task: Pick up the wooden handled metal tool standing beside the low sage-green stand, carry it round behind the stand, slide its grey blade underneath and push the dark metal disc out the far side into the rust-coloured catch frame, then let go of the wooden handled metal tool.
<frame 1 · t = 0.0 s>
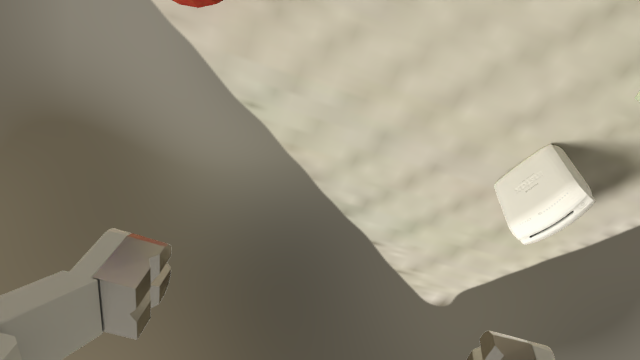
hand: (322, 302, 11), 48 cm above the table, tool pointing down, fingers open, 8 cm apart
photo printer: (528, 170, 61), on the table
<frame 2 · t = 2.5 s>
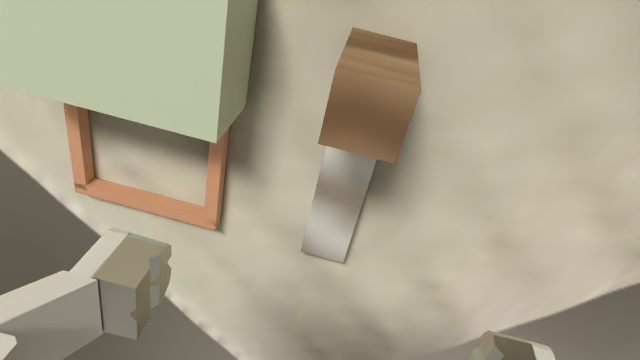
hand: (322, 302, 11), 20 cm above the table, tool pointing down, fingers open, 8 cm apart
catch frame: (151, 152, 34), on the table
stand: (149, 8, 28), on the table
wooden handled metal tool: (375, 66, 28), on the table
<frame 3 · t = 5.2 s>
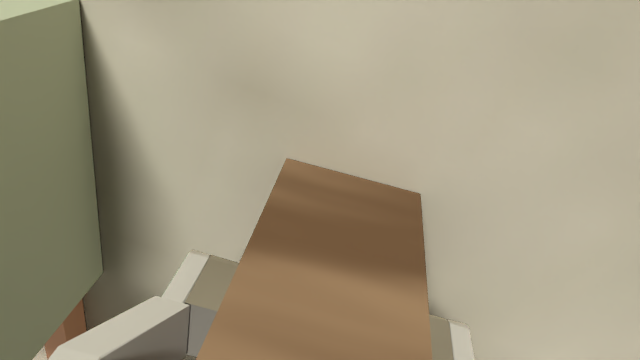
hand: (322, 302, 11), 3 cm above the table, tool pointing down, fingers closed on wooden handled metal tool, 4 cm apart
wooden handled metal tool: (337, 228, 14), on the table, touching gripper
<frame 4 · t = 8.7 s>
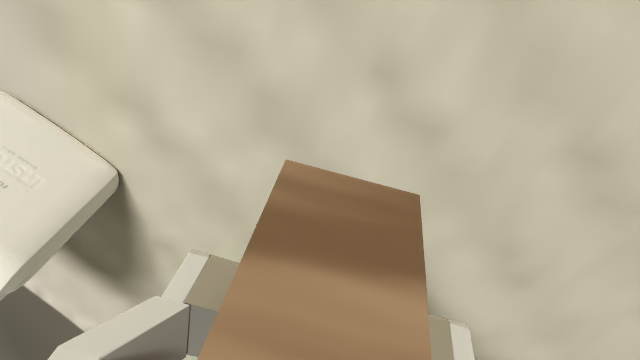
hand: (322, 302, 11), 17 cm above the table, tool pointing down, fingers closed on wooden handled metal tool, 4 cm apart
photo printer: (58, 144, 31), on the table
wooden handled metal tool: (336, 229, 14), point 14 cm above the table, touching gripper
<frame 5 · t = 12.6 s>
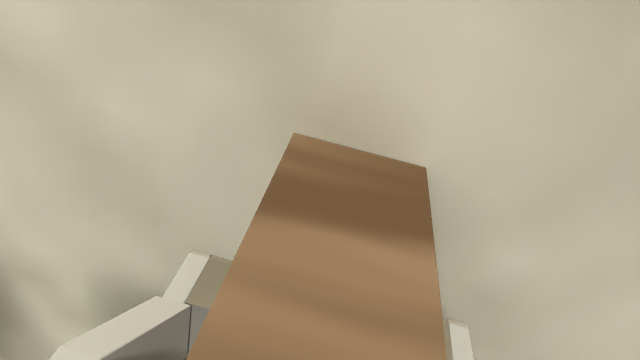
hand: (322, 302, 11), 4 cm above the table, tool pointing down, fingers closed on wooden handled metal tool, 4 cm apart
wooden handled metal tool: (343, 204, 14), on the table, touching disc, gripper
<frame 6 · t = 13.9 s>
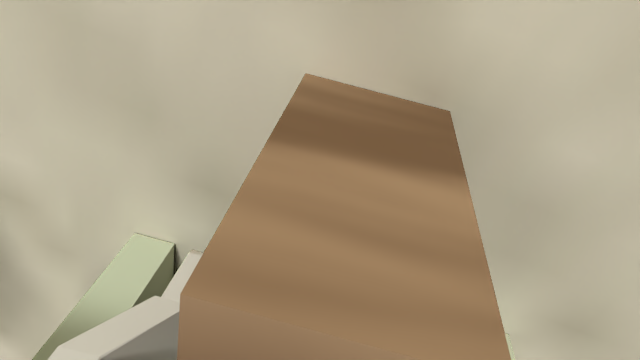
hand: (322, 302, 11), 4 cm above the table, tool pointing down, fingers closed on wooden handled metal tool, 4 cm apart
wooden handled metal tool: (358, 155, 13), on the table, touching gripper
when the fingers open (4 cm above the table, at t = 16.6 s): wooden handled metal tool stays where it is, on the table.
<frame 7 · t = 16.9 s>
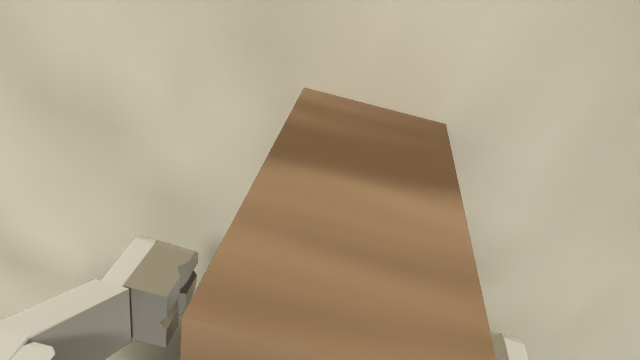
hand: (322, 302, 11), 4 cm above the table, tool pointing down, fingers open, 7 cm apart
wooden handled metal tool: (356, 166, 13), on the table
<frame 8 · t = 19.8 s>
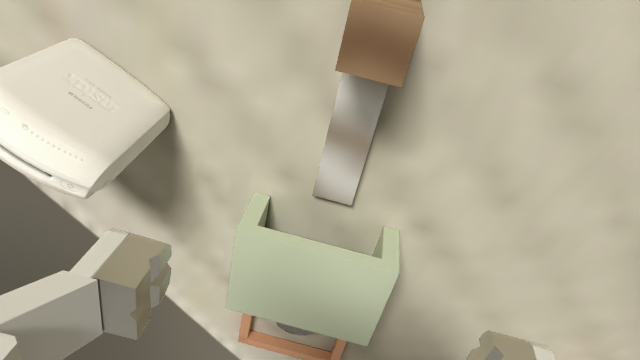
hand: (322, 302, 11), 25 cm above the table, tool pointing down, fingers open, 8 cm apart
catch frame: (296, 319, 50), on the table
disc: (301, 301, 48), on the table
photo printer: (120, 86, 38), on the table
stand: (316, 249, 44), on the table
wooden handled metal tool: (382, 15, 31), on the table
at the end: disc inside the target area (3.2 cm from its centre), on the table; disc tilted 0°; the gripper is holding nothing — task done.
